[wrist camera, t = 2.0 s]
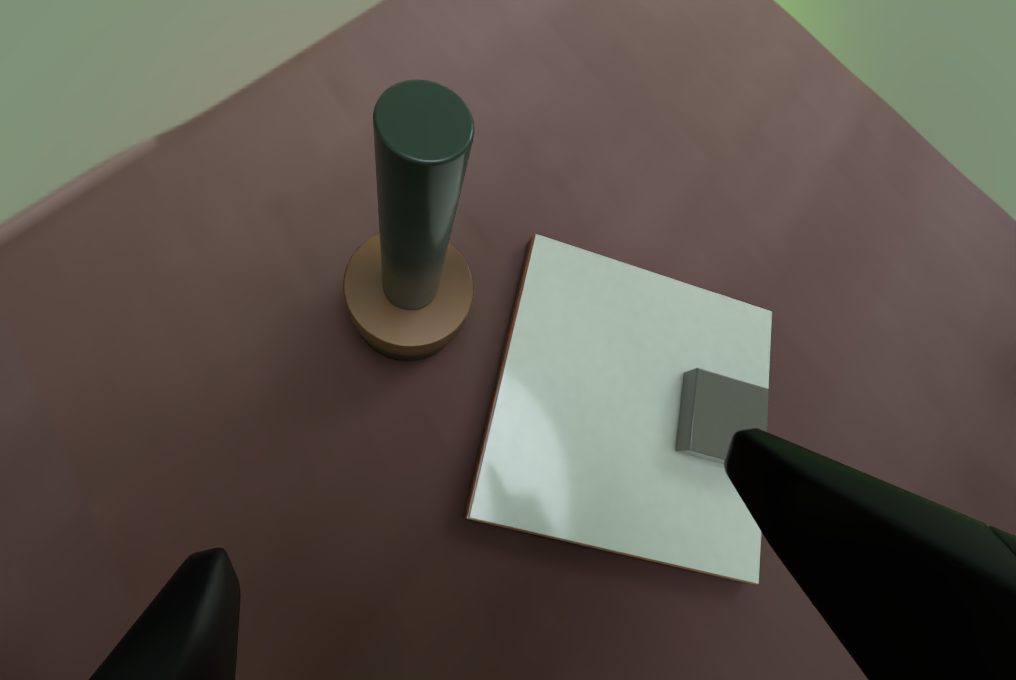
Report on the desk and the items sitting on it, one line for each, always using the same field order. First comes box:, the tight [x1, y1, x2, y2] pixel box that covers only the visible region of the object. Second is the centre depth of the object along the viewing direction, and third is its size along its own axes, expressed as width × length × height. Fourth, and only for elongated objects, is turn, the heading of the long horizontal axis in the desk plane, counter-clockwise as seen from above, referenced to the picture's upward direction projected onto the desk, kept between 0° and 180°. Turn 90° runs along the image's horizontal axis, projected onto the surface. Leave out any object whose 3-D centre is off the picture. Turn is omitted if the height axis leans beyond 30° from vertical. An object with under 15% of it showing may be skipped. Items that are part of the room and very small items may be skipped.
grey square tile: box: [675, 368, 769, 464], centre depth 23 cm, size 4×4×1 cm
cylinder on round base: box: [343, 80, 474, 361], centre depth 16 cm, size 5×5×13 cm
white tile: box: [464, 234, 772, 585], centre depth 23 cm, size 14×14×1 cm
